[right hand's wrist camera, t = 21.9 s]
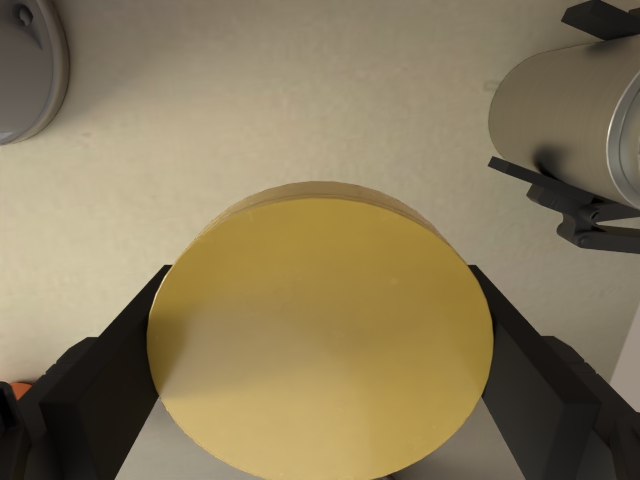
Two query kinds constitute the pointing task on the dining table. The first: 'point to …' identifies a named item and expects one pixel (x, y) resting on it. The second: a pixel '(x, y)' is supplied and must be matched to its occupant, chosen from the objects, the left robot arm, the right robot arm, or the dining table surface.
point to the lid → (320, 335)
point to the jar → (575, 117)
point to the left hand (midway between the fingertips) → (535, 92)
